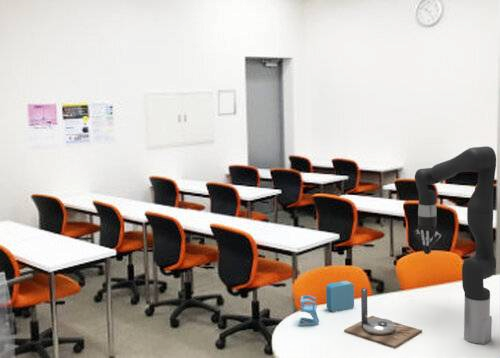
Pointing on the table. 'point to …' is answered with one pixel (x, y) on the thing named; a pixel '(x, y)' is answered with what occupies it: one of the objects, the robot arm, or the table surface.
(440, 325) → the table surface
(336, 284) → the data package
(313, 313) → the chair
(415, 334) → the base plate
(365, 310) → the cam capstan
